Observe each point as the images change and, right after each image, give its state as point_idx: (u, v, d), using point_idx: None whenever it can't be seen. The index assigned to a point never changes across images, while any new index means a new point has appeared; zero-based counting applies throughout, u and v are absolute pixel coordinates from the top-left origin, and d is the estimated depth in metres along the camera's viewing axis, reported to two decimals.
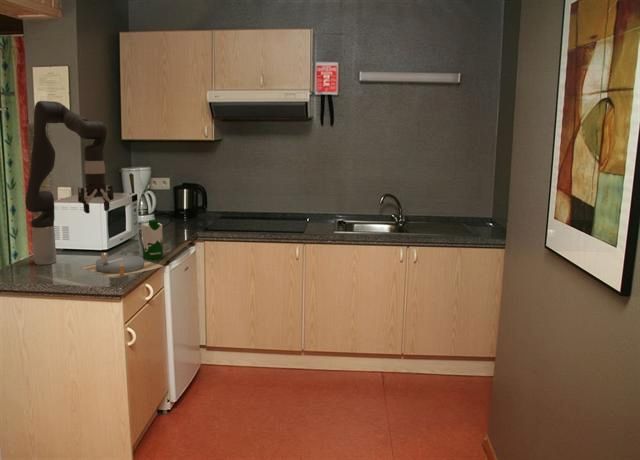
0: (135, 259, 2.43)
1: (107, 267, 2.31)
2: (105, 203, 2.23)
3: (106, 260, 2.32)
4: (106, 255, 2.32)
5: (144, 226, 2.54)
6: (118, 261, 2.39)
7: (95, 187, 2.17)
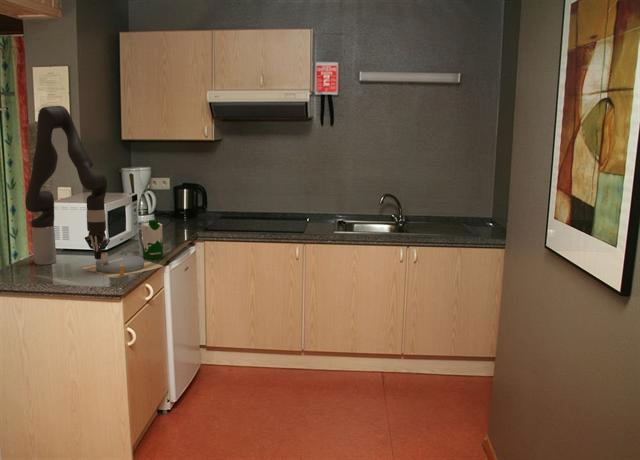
0: (135, 259, 2.43)
1: (107, 267, 2.31)
2: None
3: (106, 260, 2.32)
4: (106, 255, 2.32)
5: (144, 226, 2.54)
6: (118, 261, 2.39)
7: None
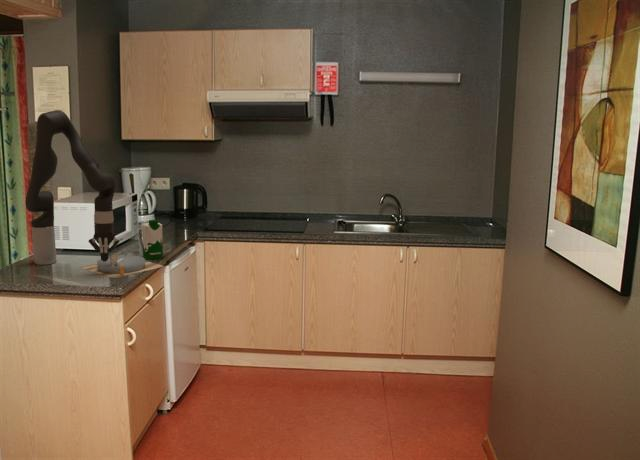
0: (134, 258, 2.46)
1: (119, 267, 2.31)
2: None
3: (116, 261, 2.32)
4: (116, 256, 2.32)
5: (144, 226, 2.54)
6: (121, 261, 2.39)
7: None
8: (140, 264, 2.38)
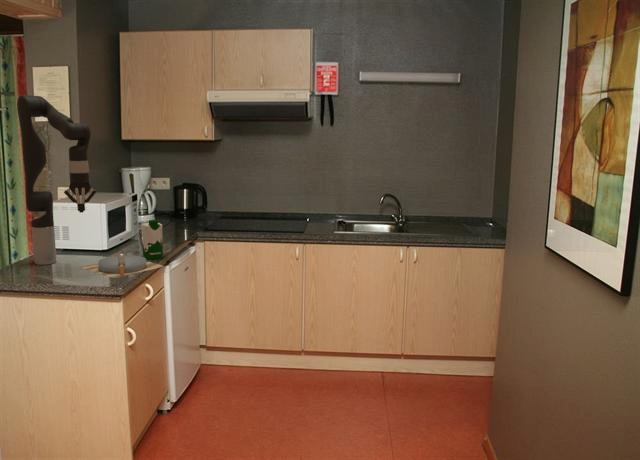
0: (133, 257, 2.47)
1: (128, 267, 2.33)
2: None
3: (124, 260, 2.33)
4: (124, 255, 2.33)
5: (144, 226, 2.54)
6: None
7: None
8: (145, 262, 2.41)
